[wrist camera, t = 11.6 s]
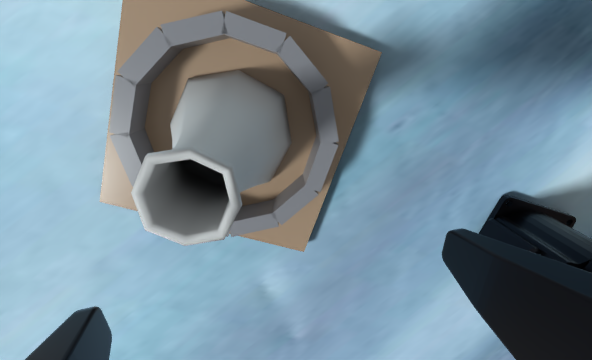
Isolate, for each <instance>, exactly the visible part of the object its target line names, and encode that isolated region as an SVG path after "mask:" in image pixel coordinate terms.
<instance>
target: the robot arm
mask: <svg viewBox="0 0 592 360" xmlns="http://www.w3.org/2000/svg"><path fill="white" fill-rule="evenodd" d="M507 201H509V202H508V203H507ZM506 203H507V204H506ZM575 222H576V218H575V217H573V216H571V215H569V214H566V213H563V212H560V211H557V210H554V209H550V208H547V207H544V206H541V205H538V204H535V203H532V202H528V201H525V200H522V199H519V198H516V197H513V196H509V195H505V196H503V197H501V199H500V200H499V202H498V203H497V205H496V206H495V208H494V210H493V211H492V213H491V215H490V216H489V218H488V220H487V221H486V223H485V225H484V226H483V228H482V230H481V231H480V233H479V234H477V233H474V232H472V231H469V230H466V229H456V230H451V231H449V232H448V233H447V235H446V238H445V242H444V246H443V250H442V258H443V261H444V262H445V264H446V266H447V267H448V269H449V270H450V272H451V273H452V275H453V276H454V278H455V279H456V281H457V282H458V284H459V285H460V287H461V288H462V290H463V291H464V293H465V294H466V296H467V297H468V299H469V300H470V302H471V303H472V304H473V306H474V307H475V309H476V310H477V311H478V313H479V314H480V315H481V317H482V318H483V319H484V320H485V322H486V323H487V324H488V325H489V327H490V328H491V329H492V330H493V332H494V333H495V334H496V335H497V337H498V338H499V339H500V340H501V342H502V343H503V344H504V345H505V347H506V348H507V349H508V350H509V352H510V353H511V354H512V355H513V357H514V358H515V359H516V360H592V239H591V238H589V237H587V236H585V235H583V234H581V233H579V232H578V231H576V230H574V229H572V227H573V226H574V224H575ZM111 342H112V334H111V330H110V328H109V326H108V323H107V321H106V319H105V317H104V315H103V312H102V310H101V309H100V308H99V307H90V308H86V309H81V310H78V311H76V312H74V313H73V314H72V315H71V316H70V317H69V318H68V319H67V320H66V321H65V322H64V323H63V324H62V325H60V326H59V327H58V328H57V329H56V330H55V331H54V332H53V333H52V334H51V335H50V336H49V337H48V338H47V339H46V340H45V341H44V342H43V343H42V344H41V345H40V346H39V347H38V348H36V349H35V350H34V351H33V352H32V353H31V354H30V355H29V356H28V357H27V358H26V359H25V360H109V356H110V349H111Z"/></svg>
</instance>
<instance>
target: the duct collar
mask: <svg viewBox="0 0 592 360" xmlns="http://www.w3.org/2000/svg"><path fill="white" fill-rule="evenodd" d="M381 53H382V52H380V51H377V50H374V49H372V48H369V47H366V46H364V45H361V44H358V43H356V42H353V41H351V40H348V39H345V38H343V37H340V36H337V35H335V34H332V33H330V32H327V31H324V30H322V29H319V28H316V27H314V26H311V25H309V24H306V23H303V22H301V21H298V20H295V19H293V18H290V17H287V16H285V15H282V14H280V13H277V12H274V11H272V10H269V9H266V8H264V7H261V6H259V5H256V4H253V3H251V2H248V1H245V0H123V3H122V12H121V20H120V29H119V38H118V46H117V55H116V64H115V73H114V81H113V90H112V99H111V107H110V116H109V125H108V133H107V142H106V151H105V159H104V168H103V177H102V186H101V194H100V202H103V203H107V204H111V205H115V206H119V207H123V208H127V209H131V210H135V211H138V210H137V207H136V205H135V202H134V200H133V197H132V194H131V192H132V189H133V186H134V184H135V181H136V179H137V176H138V173H139V171H140V168H141V166H142V163H143V161H144V158H145V156H146V155H147V154H148V153H153V152H160V151H166V150H172V134H171V128H170V123H171V120H172V118H173V115H174V113H175V110H176V108H177V105H178V103H179V100H180V98H181V95H182V93H183V90H184V88H185V85H186V83H187V80H188V78H192V77H198V76H204V75H211V74H217V73H223V72H229V71H236V70H240V71H242V72H243V73H245V74H247V75H249V76H251V77H252V78H254V79H256V80H258V81H260V82H262V83H263V84H265V85H267V86H269V87H271V88H272V89H274V90H276V91H278V92H280V93H281V94H283V95H284V98H285V104H286V110H287V117H288V123H289V129H290V136H291V142H292V143H291V144H290V146H289V148H288V150H287V152H286V154H285V156H284V157H283V159H282V161H281V163H280V165H279V167H278V168H277V170H276V172H275V174H274V176H273V178H272V179H271V181H270V182H267V183H264V184H260V185H257V186H254V187H251V188H249V189H247V190H244V191H242V192H240V196H241V201H242V206H241V208H240V210H239V212H238V214H237V216H236V218H235V220H234V222H233V224H232V226H231V227H230V229H229V231H228V233H227V235H226V236H227V237H228V236H229V234H231V237H233V236H241V237H246V238H250V239H254V240H258V241H262V242H266V243H270V244H274V245H278V246H282V247H286V248H290V249H295V250H299V251H303V252H304V250H305V248H306V245H307V243H308V240H309V237H310V235H311V232H312V230H313V227H314V225H315V222H316V220H317V217H318V214H319V212H320V209H321V207H322V204H323V202H324V199H325V197H326V194H327V191H328V189H329V186H330V184H331V181H332V179H333V176H334V174H335V171H336V168H337V166H338V163H339V161H340V158H341V156H342V153H343V151H344V148H345V145H346V143H347V140H348V138H349V135H350V133H351V130H352V128H353V125H354V122H355V120H356V117H357V115H358V112H359V110H360V107H361V105H362V102H363V99H364V97H365V94H366V92H367V89H368V87H369V84H370V82H371V79H372V76H373V74H374V71H375V69H376V66H377V64H378V61H379V59H380V56H381Z"/></svg>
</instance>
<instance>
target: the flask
mask: <svg viewBox="0 0 592 360" xmlns="http://www.w3.org/2000/svg"><path fill="white" fill-rule="evenodd" d="M170 128H171V134H172V150H166V151H160V152H153V153H148V154H147V155H146V156H145V158H144V161H143V163H142V166H141V168H140V171H139V173H138V176H137V179H136V181H135V184H134V186H133V189H132V192H131V194H132V197H133V200H134V202H135V205H136V207H137V210H138V213H139V215H140V218H141V221H142V223H143V226H144V228H145V230H146V231H148V232H151V233H153V234H156V235H159V236H161V237H164V238H166V239H169V240H171V241H174V242H176V243H179V244H181V245H184V246H187V245H193V244H199V243H205V242H211V241H218V240H224V239H225V237H226V235H227V233H228V231H229V229H230V227H231V226H232V224H233V222H234V220H235V218H236V216H237V214H238V212H239V210H240V208H241V206H242V201H241V196H240V192H242V191H244V190H247V189H249V188H251V187H254V186H257V185H260V184H264V183H267V182H270V181H271V179H272V178H273V176H274V174H275V172H276V170H277V168H278V167H279V165H280V163H281V161H282V159H283V157H284V156H285V154H286V152H287V150H288V148H289V146H290V144H291V143H292V142H291V136H290V129H289V123H288V117H287V110H286V104H285V98H284V95H283V94H281V93H280V92H278V91H276V90H274V89H272V88H271V87H269V86H267V85H265V84H263V83H262V82H260V81H258V80H256V79H254V78H252V77H251V76H249V75H247V74H245V73H243V72H242V71H240V70H236V71H229V72H223V73H217V74H211V75H204V76H198V77H192V78H188V80H187V83H186V85H185V88H184V90H183V93H182V95H181V98H180V100H179V103H178V105H177V108H176V110H175V113H174V115H173V118H172V120H171V123H170Z"/></svg>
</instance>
